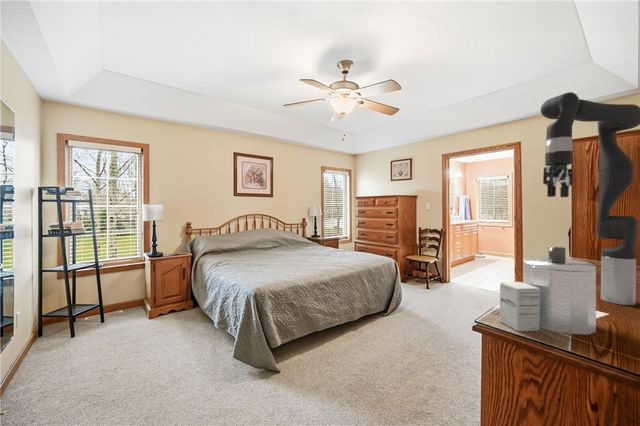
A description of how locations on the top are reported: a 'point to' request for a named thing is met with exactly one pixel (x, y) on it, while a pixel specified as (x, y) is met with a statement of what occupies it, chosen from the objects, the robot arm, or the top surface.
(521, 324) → the supplement box
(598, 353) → the top surface
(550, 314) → the cover
